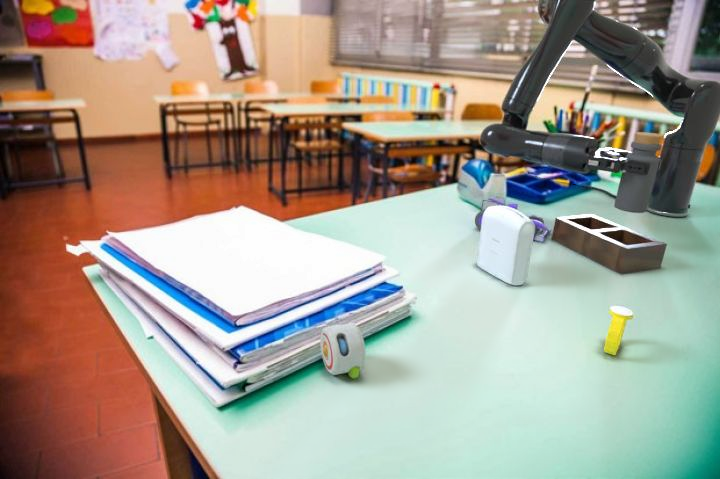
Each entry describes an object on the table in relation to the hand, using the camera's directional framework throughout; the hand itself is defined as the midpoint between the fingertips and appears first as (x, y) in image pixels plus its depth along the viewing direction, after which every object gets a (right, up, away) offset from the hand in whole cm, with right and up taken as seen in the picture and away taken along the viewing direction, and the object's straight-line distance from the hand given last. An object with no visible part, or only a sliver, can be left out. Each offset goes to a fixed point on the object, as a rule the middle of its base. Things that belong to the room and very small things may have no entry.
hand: (654, 167), depth 95 cm
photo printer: (-32, -20, -7) cm, 38 cm away
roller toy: (-59, -30, -35) cm, 75 cm away
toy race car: (-22, -12, +16) cm, 30 cm away
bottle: (-2, -8, +5) cm, 10 cm away
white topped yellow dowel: (-23, -29, -28) cm, 47 cm away
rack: (-7, -17, +5) cm, 19 cm away
